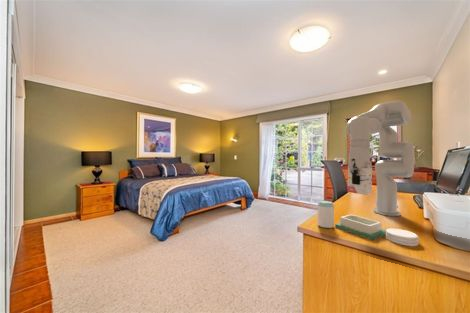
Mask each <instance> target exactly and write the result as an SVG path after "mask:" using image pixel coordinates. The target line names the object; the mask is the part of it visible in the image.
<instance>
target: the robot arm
mask: <svg viewBox="0 0 470 313" xmlns="http://www.w3.org/2000/svg"><path fill="white" fill-rule="evenodd" d="M411 120H412V113H411V111H410V109H409V108H408V106H407V104H406V103H405V102H404V101H403V100H392V101H386V102H382V103H378V104H376V105H374V106H373V107H372V108H371V109H370V110H369V111H367V112H364V113H361V114H359V115H356V116H354V117H352V118H351V119H349V120H348V122H347V123H346V125H345V132H346V133H347V135H348V136H350V144H349V145H350V147H349V151H348V152H349V153H348V162H347V166H348V167H347V168H349V169H350V171H351V175H352V184H357V185H360V176H359V172H360V169H362V168H367V166H368V161H370V162H371V157H370V156H371V155H370V148H371V147H370V146H371V145H370V144H371V135H374V134H379V142H378V143H379V145H378V154H379V156H380V157H381V158H386V159H382V160H379V161H377V162H375V164H374V170H375V176H376V208H373V212H374V213H375V214H378V215H382V216H390V217H398V216H401V212H400V211H398V208H399V206H398V184H397V182H396V180H395V179H394V177H395V178H411V177H413V175H414V173H415V172H414V171H415V146H414V144H413V142H410V141H398V136H399V135H398V133H397V131H396V130H395V129H394V128H393V127H396V126H397V127H398V126H406V125H408V124H409V123H410V122H411ZM394 159H396V160H394ZM398 159H400V160H398ZM401 159H402V160H401ZM355 167H356V168H355ZM356 170H357V172H356Z"/></svg>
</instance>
